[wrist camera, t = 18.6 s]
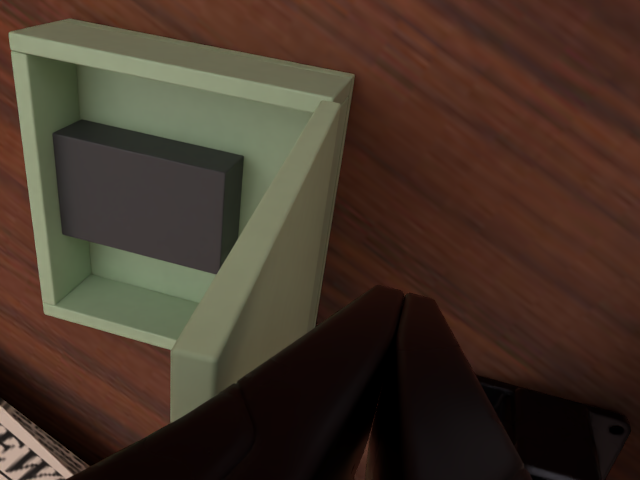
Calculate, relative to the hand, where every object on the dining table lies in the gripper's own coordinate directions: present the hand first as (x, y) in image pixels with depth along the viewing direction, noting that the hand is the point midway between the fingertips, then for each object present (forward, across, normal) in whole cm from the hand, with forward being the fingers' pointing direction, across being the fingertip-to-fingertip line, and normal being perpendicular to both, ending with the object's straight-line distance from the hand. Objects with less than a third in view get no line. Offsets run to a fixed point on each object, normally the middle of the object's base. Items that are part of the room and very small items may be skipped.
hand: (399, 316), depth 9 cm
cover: (+3, +3, +5) cm, 7 cm away
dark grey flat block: (+12, +10, +5) cm, 17 cm away
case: (+13, +9, +5) cm, 16 cm away
